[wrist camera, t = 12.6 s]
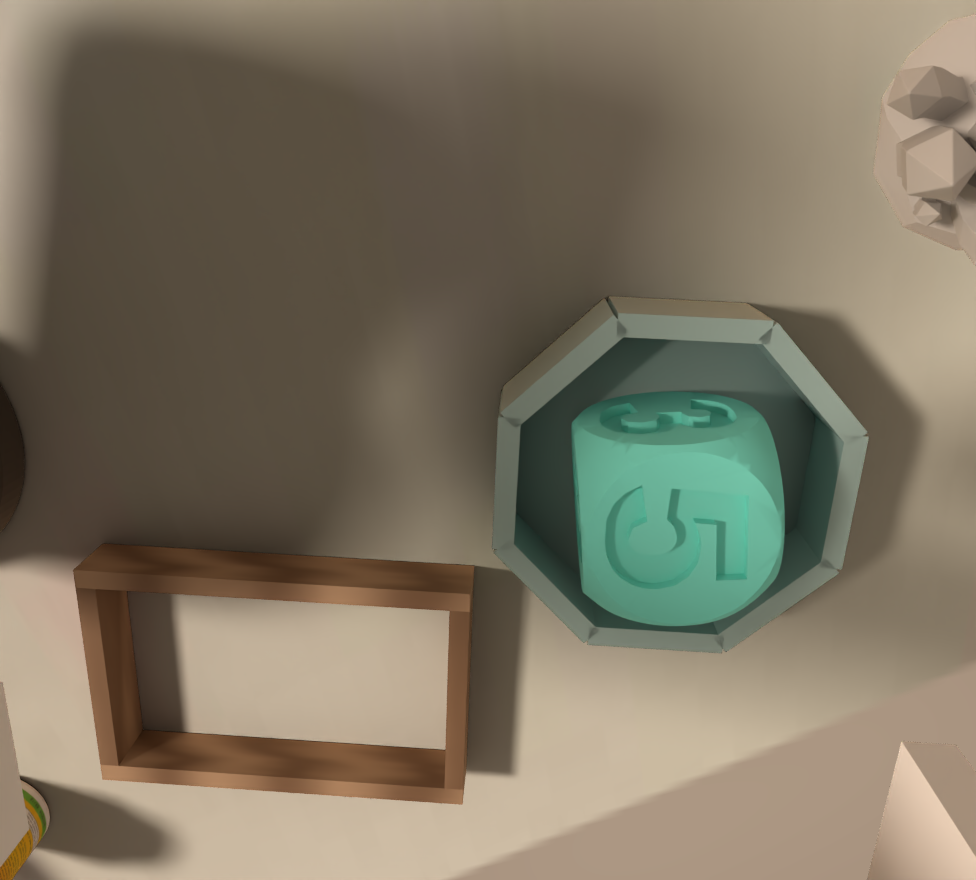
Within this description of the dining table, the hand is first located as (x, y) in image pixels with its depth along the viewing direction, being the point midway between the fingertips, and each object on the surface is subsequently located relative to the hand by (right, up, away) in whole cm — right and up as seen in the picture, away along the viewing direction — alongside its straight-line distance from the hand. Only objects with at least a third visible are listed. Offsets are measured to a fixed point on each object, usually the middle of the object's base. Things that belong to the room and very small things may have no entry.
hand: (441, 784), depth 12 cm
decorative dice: (+9, +4, +28) cm, 30 cm away
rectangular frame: (-10, -7, +33) cm, 36 cm away
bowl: (+9, +4, +28) cm, 30 cm away
